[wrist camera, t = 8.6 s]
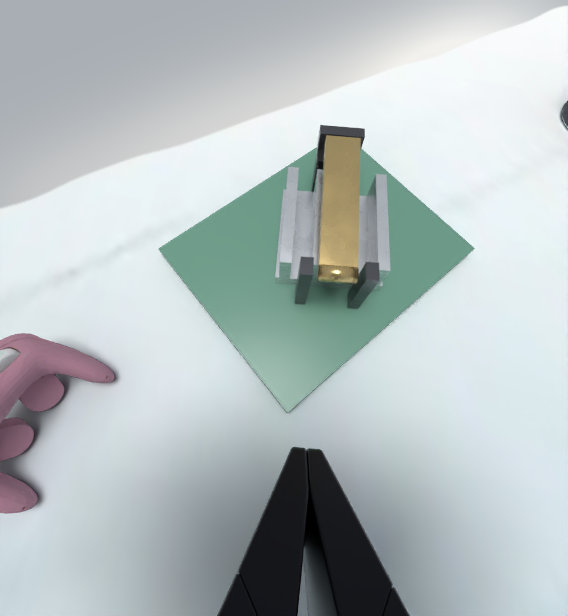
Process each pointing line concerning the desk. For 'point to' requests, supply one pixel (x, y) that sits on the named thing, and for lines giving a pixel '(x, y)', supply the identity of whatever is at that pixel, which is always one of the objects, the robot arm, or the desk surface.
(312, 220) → the heatsink mount
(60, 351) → the pink curved lobed piece
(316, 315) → the motherboard
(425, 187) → the desk surface
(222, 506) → the desk surface
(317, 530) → the robot arm
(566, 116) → the pill bottle
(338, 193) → the bar
